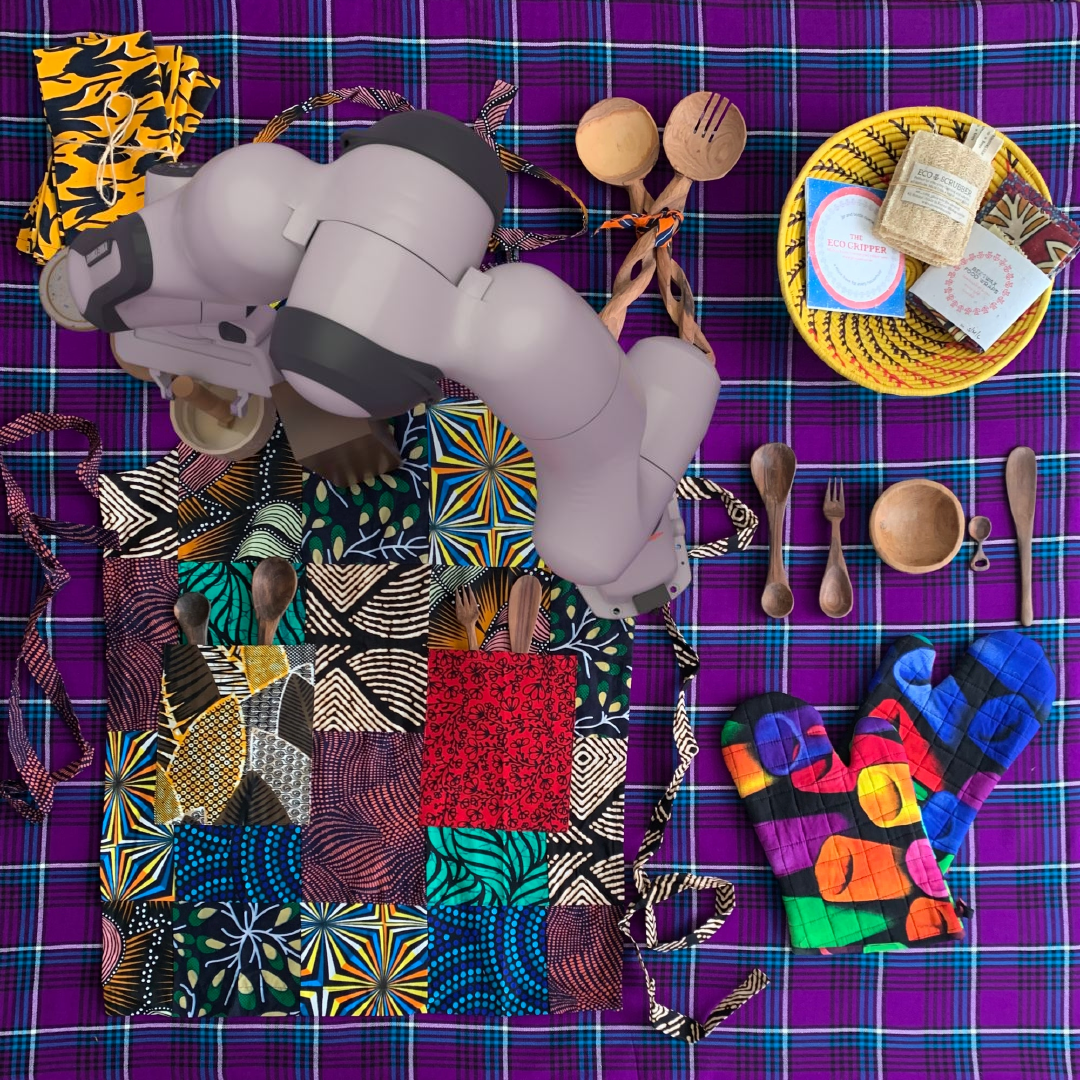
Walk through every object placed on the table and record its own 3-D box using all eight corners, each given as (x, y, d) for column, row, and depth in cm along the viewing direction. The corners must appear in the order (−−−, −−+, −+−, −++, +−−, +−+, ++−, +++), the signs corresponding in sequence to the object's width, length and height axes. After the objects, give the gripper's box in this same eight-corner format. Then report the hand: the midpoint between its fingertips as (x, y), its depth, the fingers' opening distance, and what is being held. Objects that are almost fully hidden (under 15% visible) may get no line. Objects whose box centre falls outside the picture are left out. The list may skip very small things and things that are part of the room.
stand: (404, 465, 123) (372, 432, 101) (341, 489, 122) (295, 461, 100) (381, 404, 123) (344, 358, 101) (319, 427, 123) (268, 386, 101)
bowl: (290, 443, 123) (276, 434, 117) (205, 475, 123) (187, 467, 117) (260, 360, 124) (245, 347, 118) (176, 392, 124) (157, 380, 118)
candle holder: (221, 345, 124) (157, 293, 104) (148, 401, 124) (70, 359, 104) (167, 277, 125) (94, 212, 105) (95, 332, 125) (8, 277, 105)
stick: (225, 401, 123) (176, 369, 107) (243, 405, 123) (197, 374, 107) (218, 426, 123) (167, 398, 107) (236, 431, 122) (188, 403, 107)
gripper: (94, 295, 103) (112, 398, 112) (268, 338, 102) (271, 438, 111) (124, 273, 108) (139, 374, 117) (290, 313, 107) (292, 412, 116)
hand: (205, 405), depth 114 cm, fingers open, 8 cm apart
